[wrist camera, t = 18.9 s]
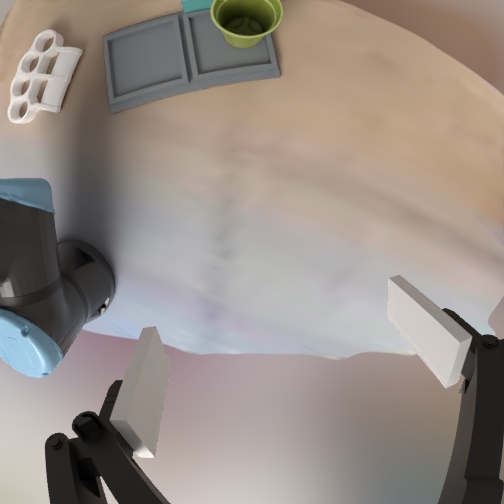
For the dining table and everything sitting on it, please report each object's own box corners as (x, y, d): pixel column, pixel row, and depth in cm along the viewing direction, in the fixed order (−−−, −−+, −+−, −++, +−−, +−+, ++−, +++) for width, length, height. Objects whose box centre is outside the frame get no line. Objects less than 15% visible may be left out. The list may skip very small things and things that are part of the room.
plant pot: (200, 29, 35) (196, 5, 27) (248, 1, 34) (254, -25, 26) (236, 68, 38) (239, 50, 30) (285, 39, 37) (297, 17, 29)
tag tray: (112, 113, 39) (98, 109, 33) (104, 37, 34) (91, 26, 28) (279, 77, 40) (287, 67, 34) (262, 2, 35) (266, -14, 29)
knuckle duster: (56, 130, 39) (5, 119, 36) (93, 36, 34) (37, 33, 31) (47, 130, 36) (-5, 119, 33) (86, 30, 31) (29, 29, 28)
